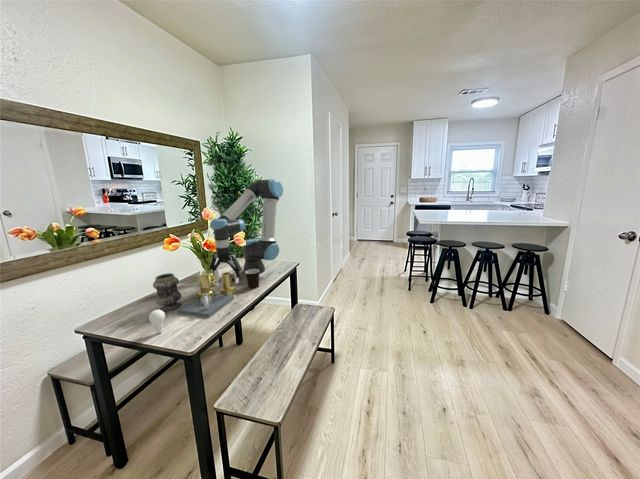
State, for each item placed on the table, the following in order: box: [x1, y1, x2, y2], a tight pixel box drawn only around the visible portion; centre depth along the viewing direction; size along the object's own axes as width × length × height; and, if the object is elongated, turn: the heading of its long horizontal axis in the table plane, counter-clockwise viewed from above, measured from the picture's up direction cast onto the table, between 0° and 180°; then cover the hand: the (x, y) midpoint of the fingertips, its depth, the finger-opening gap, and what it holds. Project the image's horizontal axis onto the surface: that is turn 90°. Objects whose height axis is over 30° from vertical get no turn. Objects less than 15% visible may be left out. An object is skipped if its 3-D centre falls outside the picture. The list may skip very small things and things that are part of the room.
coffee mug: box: [244, 269, 260, 290], centre depth 170 cm, size 12×9×10 cm
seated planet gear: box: [196, 274, 216, 300], centre depth 152 cm, size 9×9×12 cm
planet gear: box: [219, 271, 237, 296], centre depth 160 cm, size 9×9×12 cm
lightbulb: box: [148, 309, 166, 334], centre depth 121 cm, size 6×6×11 cm
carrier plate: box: [176, 293, 235, 319], centre depth 145 cm, size 21×19×9 cm
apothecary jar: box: [152, 272, 182, 313], centre depth 144 cm, size 12×12×18 cm
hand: (227, 281), depth 160 cm, fingers open, 13 cm apart
